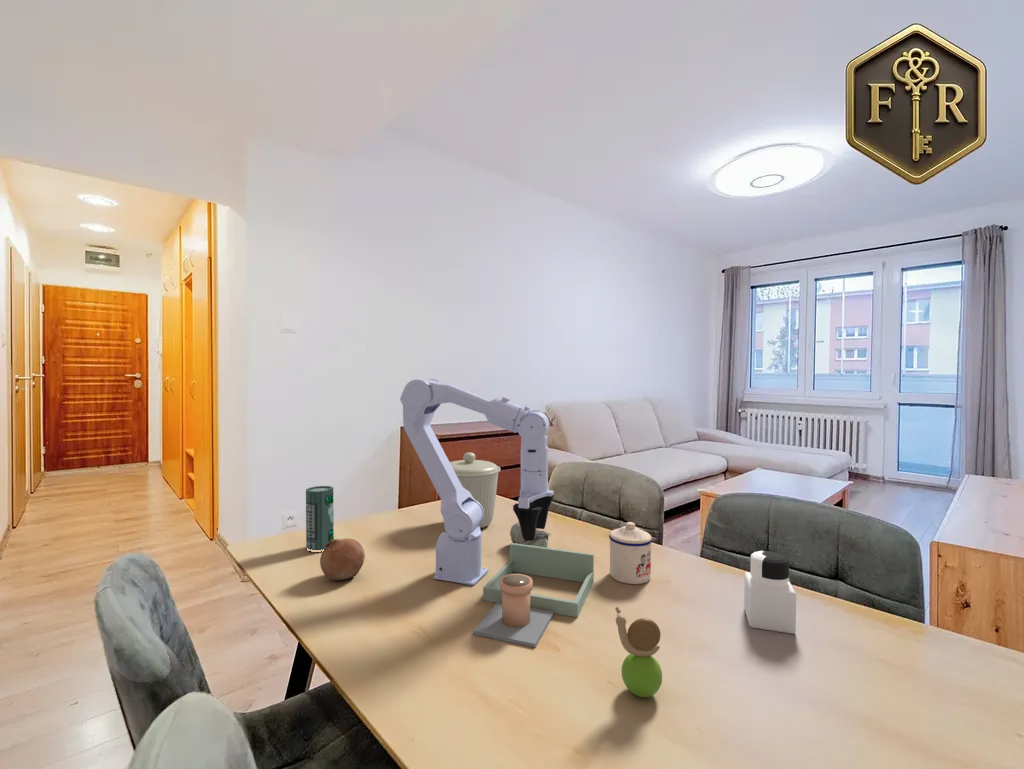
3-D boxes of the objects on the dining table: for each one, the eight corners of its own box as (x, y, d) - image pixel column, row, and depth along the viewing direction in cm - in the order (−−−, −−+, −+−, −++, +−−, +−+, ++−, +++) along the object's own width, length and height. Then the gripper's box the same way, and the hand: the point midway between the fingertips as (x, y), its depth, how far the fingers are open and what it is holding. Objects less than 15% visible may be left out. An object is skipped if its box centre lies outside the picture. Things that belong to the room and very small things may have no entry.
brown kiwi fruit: (325, 595, 101) (302, 557, 99) (349, 567, 109) (329, 532, 108) (357, 586, 98) (334, 547, 96) (380, 559, 106) (359, 522, 104)
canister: (510, 520, 143) (510, 450, 143) (482, 539, 127) (482, 460, 126) (458, 512, 151) (458, 446, 150) (425, 530, 134) (425, 455, 134)
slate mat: (473, 634, 81) (473, 630, 81) (497, 604, 91) (497, 601, 91) (535, 647, 77) (535, 643, 77) (553, 615, 87) (553, 611, 87)
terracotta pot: (494, 625, 82) (494, 584, 82) (506, 609, 88) (506, 571, 88) (526, 631, 80) (526, 590, 80) (536, 615, 86) (536, 576, 86)
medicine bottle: (786, 615, 88) (788, 550, 87) (796, 635, 81) (797, 564, 81) (743, 608, 90) (744, 545, 90) (749, 627, 83) (750, 559, 83)
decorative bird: (523, 542, 125) (523, 511, 125) (558, 566, 110) (559, 532, 110) (503, 545, 123) (503, 514, 122) (536, 571, 107) (536, 535, 107)
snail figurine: (609, 681, 68) (610, 598, 68) (653, 679, 69) (654, 597, 69) (621, 708, 63) (622, 618, 63) (668, 705, 64) (669, 616, 63)
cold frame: (483, 600, 93) (483, 569, 93) (510, 569, 107) (511, 542, 107) (577, 617, 86) (577, 584, 86) (593, 582, 101) (593, 554, 101)
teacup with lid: (643, 589, 98) (644, 532, 97) (602, 578, 103) (602, 524, 102) (661, 569, 108) (661, 518, 107) (622, 560, 113) (622, 511, 112)
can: (337, 547, 120) (337, 488, 120) (314, 554, 116) (313, 493, 115) (325, 542, 124) (325, 484, 124) (302, 548, 120) (302, 488, 119)
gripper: (542, 477, 92) (542, 547, 92) (561, 464, 105) (561, 525, 106) (508, 475, 94) (508, 543, 94) (531, 462, 108) (531, 522, 108)
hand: (534, 533), depth 100 cm, fingers open, 7 cm apart
